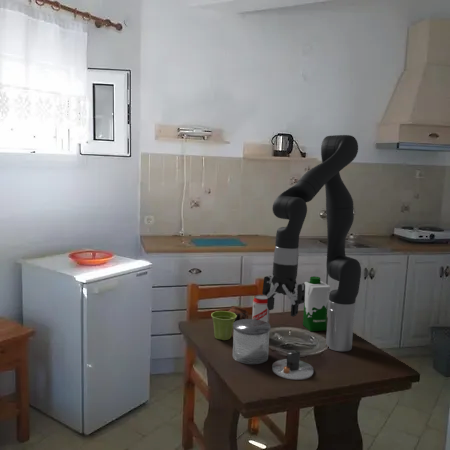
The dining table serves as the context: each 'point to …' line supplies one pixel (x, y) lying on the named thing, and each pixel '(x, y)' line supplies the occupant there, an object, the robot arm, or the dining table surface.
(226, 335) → the plant pot
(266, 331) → the cooker pot
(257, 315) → the beer can
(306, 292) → the milk carton
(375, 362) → the dining table surface
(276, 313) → the dining table surface
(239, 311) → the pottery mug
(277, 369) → the cooker lid
